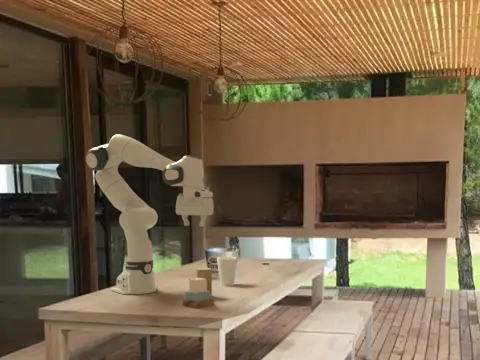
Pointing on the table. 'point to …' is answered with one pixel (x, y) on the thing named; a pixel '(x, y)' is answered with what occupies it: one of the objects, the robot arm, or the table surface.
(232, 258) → the foam cup
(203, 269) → the skincare box
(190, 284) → the cream brick
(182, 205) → the robot arm
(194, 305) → the walnut base brick
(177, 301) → the table surface
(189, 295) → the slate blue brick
